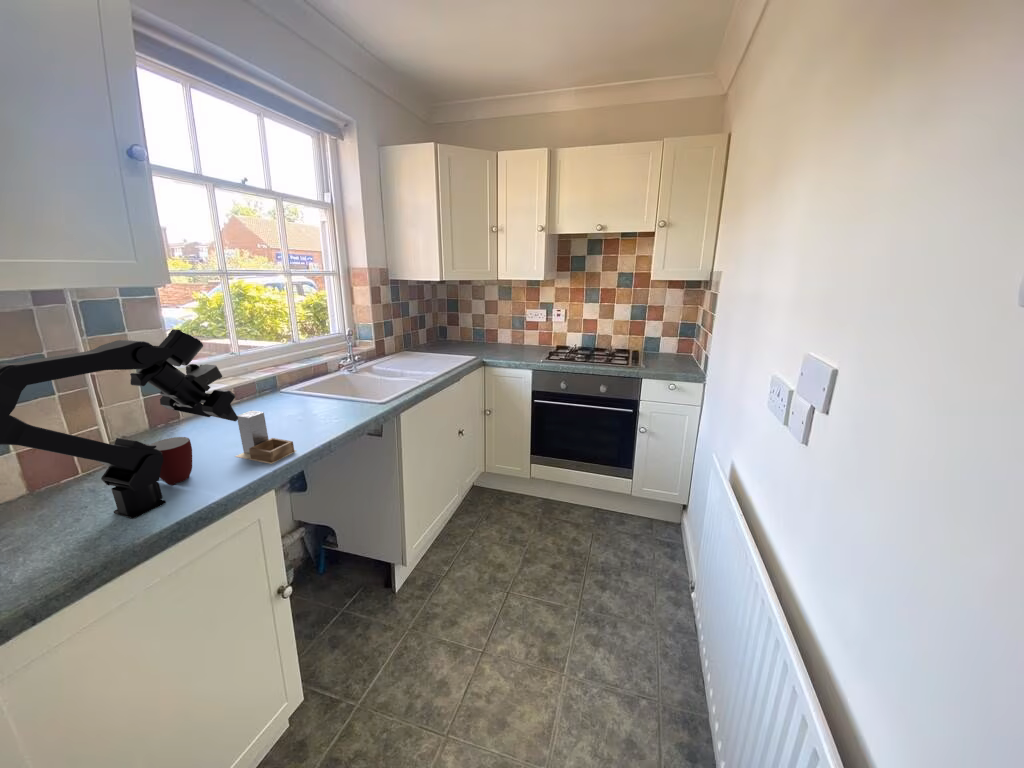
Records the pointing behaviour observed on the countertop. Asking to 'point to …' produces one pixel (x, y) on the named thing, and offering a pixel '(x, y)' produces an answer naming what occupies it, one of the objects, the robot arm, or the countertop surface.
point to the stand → (269, 451)
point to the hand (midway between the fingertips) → (223, 417)
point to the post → (252, 429)
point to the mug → (175, 459)
